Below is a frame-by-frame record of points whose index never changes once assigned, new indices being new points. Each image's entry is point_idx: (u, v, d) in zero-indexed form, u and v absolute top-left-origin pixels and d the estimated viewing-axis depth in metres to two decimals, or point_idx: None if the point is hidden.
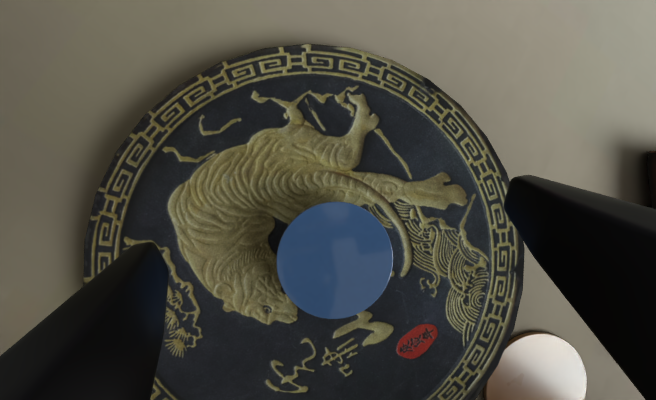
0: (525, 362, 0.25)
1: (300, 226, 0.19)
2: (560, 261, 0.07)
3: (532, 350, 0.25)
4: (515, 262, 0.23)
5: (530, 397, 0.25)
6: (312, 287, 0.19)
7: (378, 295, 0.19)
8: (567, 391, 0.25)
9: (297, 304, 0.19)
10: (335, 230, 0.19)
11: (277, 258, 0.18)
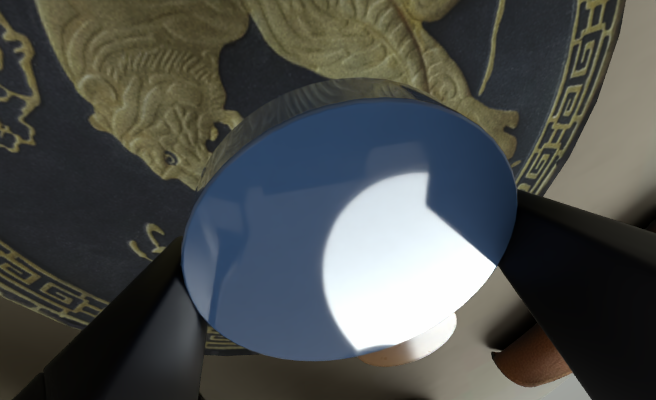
0: None
1: (336, 141, 0.05)
2: (520, 269, 0.07)
3: None
4: None
5: None
6: (266, 297, 0.07)
7: (387, 345, 0.09)
8: (424, 345, 0.27)
9: (206, 316, 0.07)
10: (414, 202, 0.06)
11: (203, 197, 0.05)
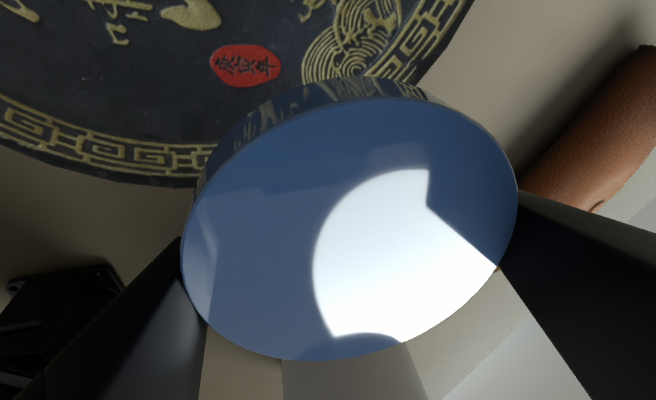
0: None
1: (335, 140, 0.05)
2: (520, 269, 0.07)
3: None
4: (425, 55, 0.16)
5: None
6: (265, 297, 0.07)
7: (387, 346, 0.09)
8: None
9: (205, 316, 0.07)
10: (415, 201, 0.06)
11: (202, 196, 0.05)
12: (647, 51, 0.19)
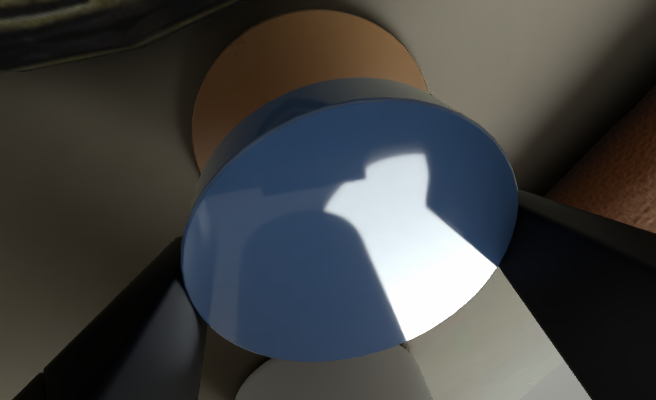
0: (326, 79, 0.10)
1: (337, 142, 0.05)
2: (520, 270, 0.07)
3: (356, 64, 0.10)
4: None
5: None
6: (266, 298, 0.07)
7: (387, 346, 0.09)
8: None
9: (205, 317, 0.07)
10: (415, 202, 0.06)
11: (203, 197, 0.05)
12: None
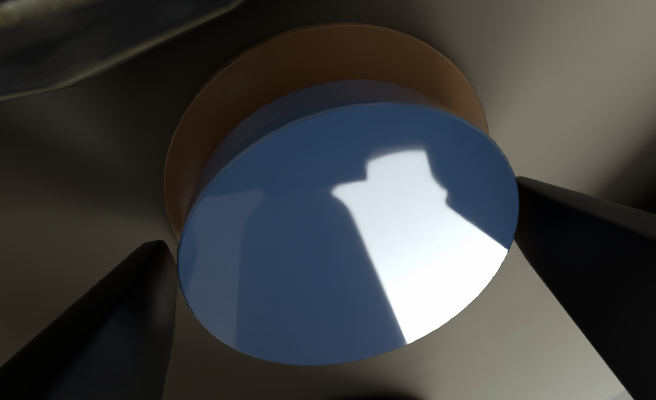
0: None
1: (335, 145, 0.05)
2: (551, 263, 0.07)
3: None
4: None
5: None
6: (264, 302, 0.07)
7: (386, 350, 0.09)
8: None
9: (203, 322, 0.07)
10: (414, 206, 0.06)
11: (199, 202, 0.05)
12: None
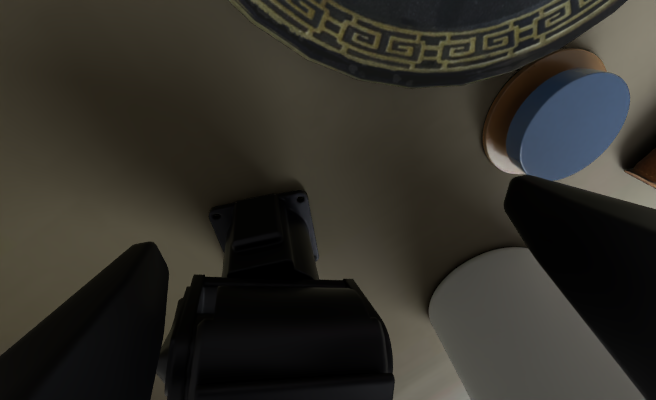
0: None
1: (585, 85, 0.18)
2: (560, 261, 0.07)
3: None
4: None
5: None
6: (541, 143, 0.20)
7: (566, 175, 0.22)
8: None
9: (521, 150, 0.20)
10: (598, 106, 0.19)
11: (546, 102, 0.18)
12: None
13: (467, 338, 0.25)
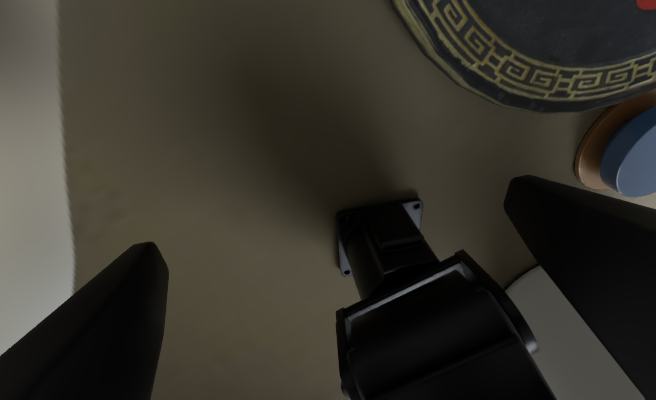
0: None
1: None
2: (560, 261, 0.07)
3: None
4: None
5: None
6: (637, 164, 0.22)
7: (649, 193, 0.24)
8: None
9: (620, 170, 0.22)
10: None
11: (649, 130, 0.21)
12: None
13: (544, 337, 0.28)
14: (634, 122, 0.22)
